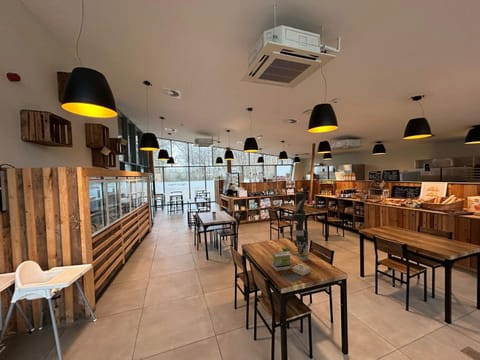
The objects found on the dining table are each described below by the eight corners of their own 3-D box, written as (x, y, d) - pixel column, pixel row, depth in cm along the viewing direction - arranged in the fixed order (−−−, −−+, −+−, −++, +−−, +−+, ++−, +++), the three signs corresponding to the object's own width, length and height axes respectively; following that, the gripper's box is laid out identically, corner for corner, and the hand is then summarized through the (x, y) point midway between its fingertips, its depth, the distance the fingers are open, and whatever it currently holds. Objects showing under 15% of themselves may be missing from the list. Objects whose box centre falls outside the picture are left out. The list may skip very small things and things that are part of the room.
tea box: (276, 271, 198) (275, 256, 198) (273, 267, 208) (272, 253, 208) (290, 269, 201) (290, 254, 201) (286, 265, 211) (285, 251, 211)
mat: (279, 277, 186) (279, 276, 186) (290, 272, 195) (290, 271, 195) (292, 283, 174) (292, 283, 174) (303, 277, 183) (303, 277, 183)
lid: (291, 254, 195) (291, 247, 195) (299, 250, 202) (299, 244, 202) (302, 257, 185) (301, 250, 185) (310, 254, 192) (309, 246, 192)
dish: (293, 272, 195) (293, 267, 195) (300, 268, 201) (300, 263, 201) (303, 276, 186) (302, 271, 186) (310, 272, 193) (309, 267, 193)
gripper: (291, 233, 197) (292, 251, 197) (303, 236, 186) (304, 255, 186) (296, 232, 202) (297, 249, 202) (308, 235, 190) (309, 253, 190)
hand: (300, 252), depth 194 cm, fingers closed on lid, 3 cm apart
